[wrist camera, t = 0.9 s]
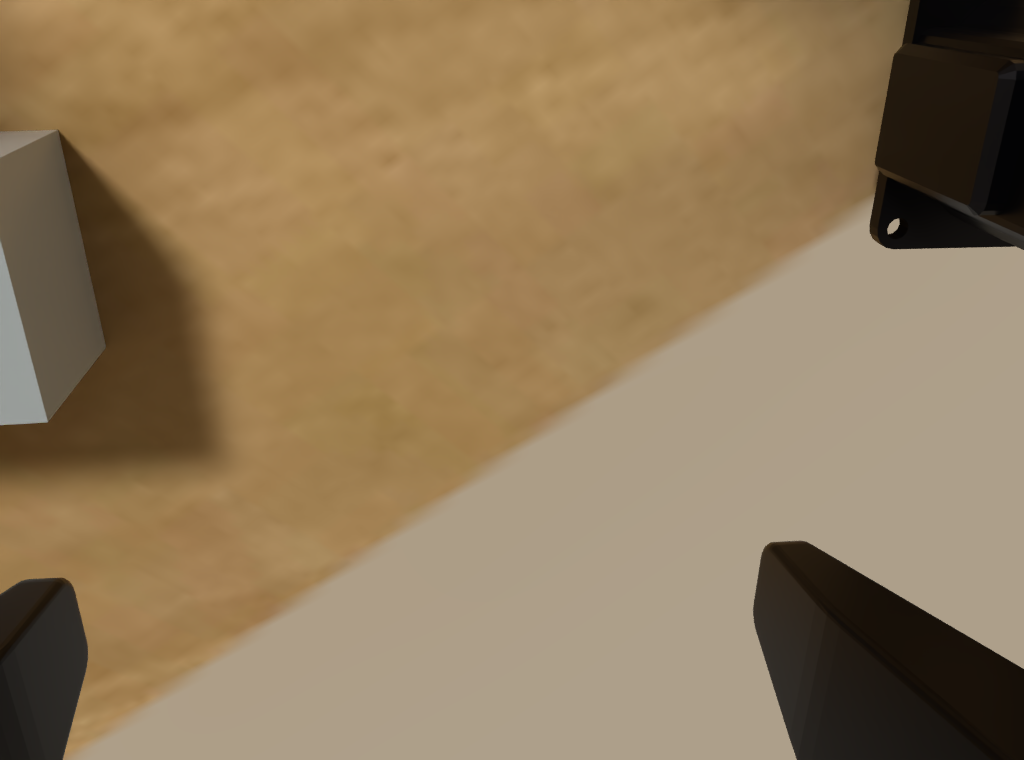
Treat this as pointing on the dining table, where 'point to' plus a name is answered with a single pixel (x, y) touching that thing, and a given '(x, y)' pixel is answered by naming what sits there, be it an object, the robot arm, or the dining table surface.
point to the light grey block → (41, 281)
